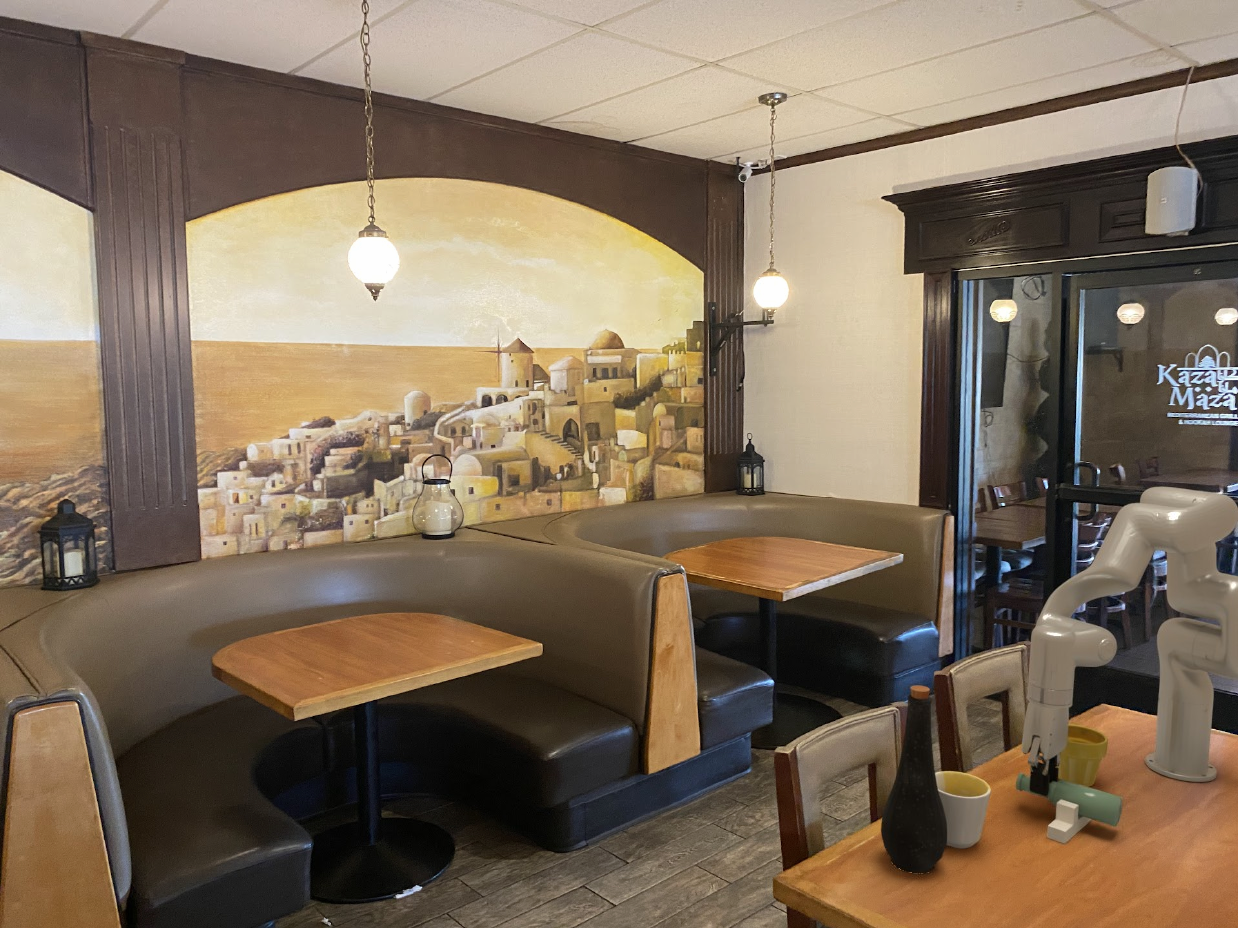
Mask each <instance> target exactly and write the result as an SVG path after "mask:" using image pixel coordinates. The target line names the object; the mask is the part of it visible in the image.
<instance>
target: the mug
mask: <svg viewBox="0 0 1238 928" xmlns="http://www.w3.org/2000/svg"><path fill="white" fill-rule="evenodd" d="M935 776H936V782H937V787H938V791H939V795H940V798H941V801H942V804H943V808H944V812H945V816H946V821H947V844H946V846H949V847H950V846H951V847H950V848H953V849H967V848H972V846H974V845H976V844H977V843H978V842H979V841H980V839H981V837H982V833H983V827H984V823H985V819H986V814H987V810H988V807H989V806H988V805H989V803H990V802H989V801H990V797H991V791H992V789H991V786H990V784H988V782H986V781H985V780H984V779H981V778H980V777H979V776H975V775H973V774H969V773H965V772H961V771H951V770H948V771H947V770H945V771H936V772H935Z"/></svg>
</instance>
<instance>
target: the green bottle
mask: <svg viewBox="0 0 1238 928" xmlns="http://www.w3.org/2000/svg"><path fill="white" fill-rule="evenodd" d="M1015 788H1016V790H1017V791H1019V792H1022V791H1024V792H1026V793H1029V794H1033V795H1036V796H1039V797H1042V798H1045V799H1047V801H1048V802H1049V803H1052V804H1053V806H1054V808H1055V809H1056V807H1057V802H1058V801H1060V800H1061V799H1062V800H1065V801H1068V802H1071V803H1074V804H1077V805H1079V807H1078V815H1080V816H1083V817H1086V818H1090V819H1092V820H1094V821H1097V822H1099V823H1102V824H1105V825H1109V826H1112V827H1117V826H1119V823H1120V820H1121V816H1122V811H1123V797H1122V796H1119V795H1116V794H1113V793H1108V792H1105V791H1102V790H1099V789H1096V788H1092V787H1086V786H1082V785H1079V784H1076V783H1072V782H1069V781H1066V780H1062V779H1060V780H1059V779H1058V782H1055V781H1052V782H1051V783H1049V791H1048V795H1047V796H1043V795H1040V794H1037V793H1034V792H1031V791H1030V789H1029V788H1030V775H1026V774H1025V773H1023V772H1020V773H1019V774H1018V775H1017V778H1016V783H1015Z"/></svg>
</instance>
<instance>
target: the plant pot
mask: <svg viewBox="0 0 1238 928" xmlns="http://www.w3.org/2000/svg"><path fill="white" fill-rule="evenodd" d="M1108 744H1109V738H1108V737H1107V735H1106V734H1104V733H1103V732H1101V731H1099V730H1097V729H1096V728H1092V727H1089V726H1085V725H1080V724H1072V723H1069V724H1068V739H1067V745H1066V747H1065V749H1064V750H1063V751H1061V753H1060V754H1061V755H1060V765H1059V767H1057V768H1059V773H1058V781H1059V780H1060V779H1062V780H1066V781H1069V782H1072V783H1076V784H1080V785H1083V786H1086V787H1089V788H1091V787H1092V786H1094V784H1095V781H1096V777H1097V774H1098V773H1099V772H1098V771H1099V769H1100V766H1101V763H1102V760H1103V758H1105V757H1106V756H1107V754H1108V746H1109V745H1108Z"/></svg>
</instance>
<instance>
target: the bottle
mask: <svg viewBox="0 0 1238 928" xmlns="http://www.w3.org/2000/svg"><path fill="white" fill-rule="evenodd" d="M909 689H910V694H908V695H907V698H906V699H907V700H906V701H907V709H906V719H905V720H906V721H905V728H904V736H903V741H902V747H901V748H902V749H901V752H900V753H901V755H900V759H899V764H898V767H897V771H896V775H895V779H894V782H893V785H892V788H891V790H890V792H889V794H888V796H887V799H886V801H885V805H884V807H883V812H882V817H881V822H880V823H881V824H880V834H881V840H882V843H883V847H884V850H885V851H886V853H887V854H888V856H889V858H890V863H891V862H892V863H893V864H892V863H891V864H892V865H893V866H894V865H895V866H896V867H897V868H896V867H895V866H894V867H895V868H896V869H898V868H900V869H901V870H900V869H899V870H900V871H902V870H904V871H903V872H905V871H906V872H905V873H908V872H912V873H911V874H913V873H918V874H917V875H922V874H921V873H926V874H929V873H931V871H932V870H933V869H934V868H935V867H936V865H937V864H938V862H939V861H940V860H941V859H942V858H943V856H944V853H945V850H946V847H947V845H946V844H947V821H946V816H945V812H944V808H943V804H942V801H941V798H940V795H939V791H938V787H937V782H936V776H935V773H936V771H935V762H934V761H935V759H934V753H933V751H934V750H933V737H932V708H931V707H932V706H931V705H932V703H933V700H932V699H933V698H932V697H931V696H929V694H930V690H931V689H930V688H929V687H928V686H925V685H918V684H917V685H912V686H910V688H909ZM934 870H935V869H934ZM934 870H933V871H934ZM933 871H932V872H933ZM928 872H929V873H928ZM919 873H920V874H919Z"/></svg>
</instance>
